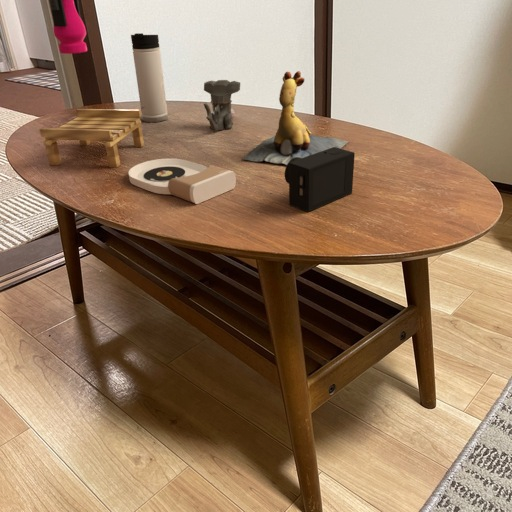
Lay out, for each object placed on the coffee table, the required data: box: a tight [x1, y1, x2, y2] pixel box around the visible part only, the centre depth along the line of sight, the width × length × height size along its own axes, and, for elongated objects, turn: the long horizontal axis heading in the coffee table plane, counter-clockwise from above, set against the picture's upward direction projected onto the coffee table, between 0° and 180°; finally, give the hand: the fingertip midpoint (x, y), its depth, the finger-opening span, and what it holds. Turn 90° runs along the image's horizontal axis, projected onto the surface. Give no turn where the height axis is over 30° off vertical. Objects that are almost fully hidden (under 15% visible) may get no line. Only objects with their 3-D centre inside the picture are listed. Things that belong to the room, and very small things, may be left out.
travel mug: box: [130, 32, 169, 123], centre depth 123 cm, size 6×7×20 cm
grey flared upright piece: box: [203, 79, 241, 132], centre depth 119 cm, size 14×18×10 cm
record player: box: [128, 158, 237, 205], centre depth 90 cm, size 12×3×20 cm
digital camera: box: [284, 147, 355, 213], centre depth 81 cm, size 10×5×7 cm, turn 131°
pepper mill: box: [52, 0, 88, 55], centre depth 118 cm, size 7×7×20 cm
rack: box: [39, 108, 145, 169], centre depth 103 cm, size 14×15×7 cm
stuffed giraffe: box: [241, 70, 350, 166], centre depth 100 cm, size 16×18×16 cm
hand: (68, 24), depth 120 cm, fingers closed on pepper mill, 6 cm apart
